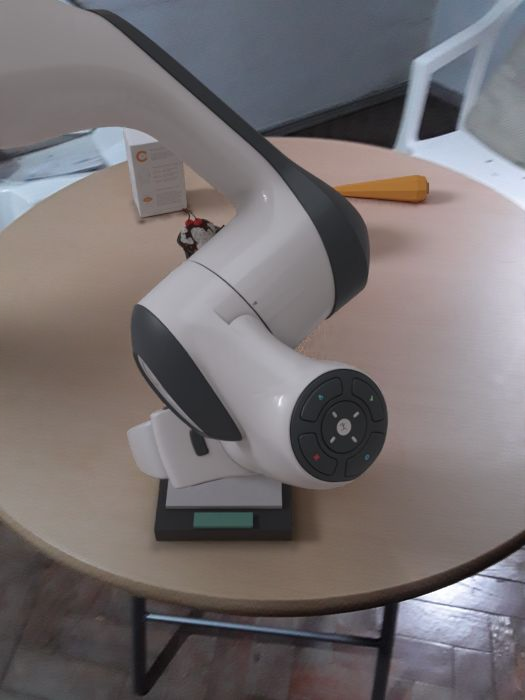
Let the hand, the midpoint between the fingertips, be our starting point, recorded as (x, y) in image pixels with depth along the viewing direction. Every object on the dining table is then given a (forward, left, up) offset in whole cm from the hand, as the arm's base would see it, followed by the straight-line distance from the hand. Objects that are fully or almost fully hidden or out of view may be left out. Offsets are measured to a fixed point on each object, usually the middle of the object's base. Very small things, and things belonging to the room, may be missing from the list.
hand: (220, 411), depth 69 cm
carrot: (+23, +57, -11) cm, 63 cm away
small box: (-13, +54, -11) cm, 57 cm away
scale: (0, -2, -10) cm, 11 cm away
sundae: (-4, +30, -11) cm, 33 cm away
